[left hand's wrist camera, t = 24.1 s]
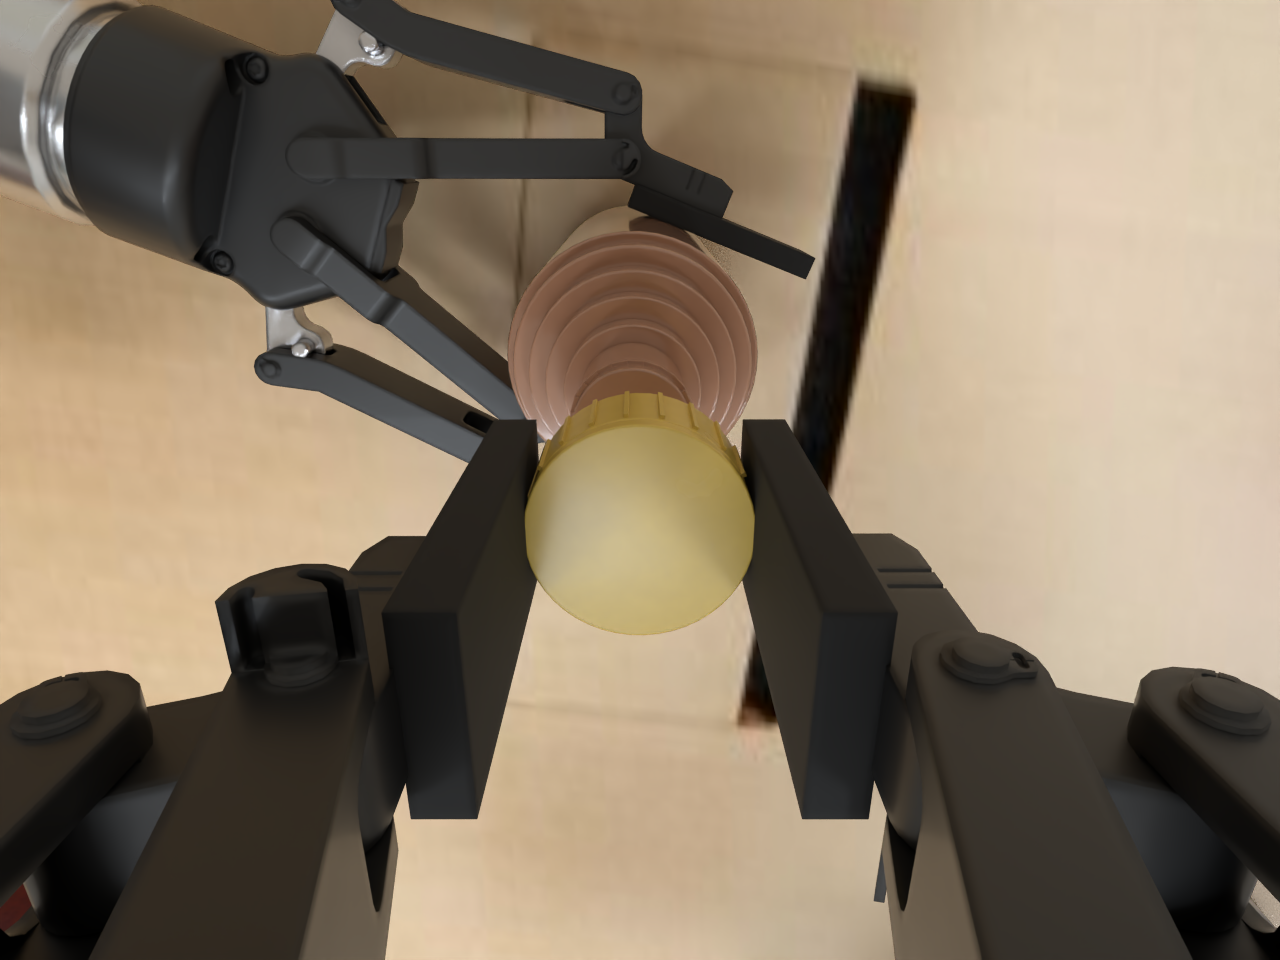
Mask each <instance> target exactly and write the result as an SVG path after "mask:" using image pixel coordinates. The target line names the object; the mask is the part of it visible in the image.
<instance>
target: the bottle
mask: <svg viewBox="0 0 1280 960" xmlns="http://www.w3.org/2000/svg"><path fill="white" fill-rule="evenodd" d="M757 354H758V351H757V339H756V333H755V328H754V324H753V319H752V317H751V314H750V311H749V309H748V306H747V304H746V302H745V300H744V298H743V296H742V294H741V292H740V290H739V289H738V287H737V286H736V285H735V283H734V282H733V281H732V279H731V278H730V276H729V275H728V274H727V273H726V271H725V270H724V269H723V268H722V267H721V265H720V264H719V263H718V262H717V260H716V259H715V258H714V257H713V256H712V254H711V253H710V252H709V251H708V249H707V248H706V247H705V246H704V244H703V243H702V242H701V241H700V240H699V238H698V237H697V236H696V235H695V234H693V233H690V232H688V231H685V230H683V229H681V228H678V227H676V226H673V225H671V224H668V223H666V222H663V221H661V220H658V219H656V218H654V217H651V216H649V215H646V214H644V213H641V212H639V211H636V210H634V209H631V208H629V207H628V205H625V206H619V207H614V208H610V209H607V210H604V211H602V212H600V213H598V214H595V215H594V216H592V217H590V218H589V219H587V220H586V221H585V222H583V223H582V224H581V225H580V226H579V227H577V228H576V230H575V231H574V232H573V233H572V234H571V235H570V236H569V237H568V239H567V240H566V241H565V242H564V243H563V244H562V246H561V247H560V248H559V249H558V250H557V251H556V253H555V254H554V255H553V256H552V257H551V259H550V260H549V261H548V262H547V263H546V264H545V266H544V267H543V268H542V269H541V270H540V272H539V273H538V274H537V275H536V276H535V277H534V279H533V280H532V282H531V283H530V285H529V286H528V287H527V289H526V290H525V292H524V294H523V296H522V298H521V300H520V302H519V304H518V306H517V308H516V311H515V314H514V317H513V320H512V323H511V328H510V333H509V338H508V368H509V375H510V379H511V384H512V388H513V391H514V393H515V396H516V399H517V402H518V404H519V406H520V408H521V410H522V412H523V414H524V416H525V417H526V419H537V433H538V434H539V436H540V437H541V438H542V439H543V440H544V441H545V442H546V441H547V439H549V440H551V439H552V437H553V436H554V435H555V433H556V432H557V431H558V430H559V428H560V427H561V426H562V425H563V424H564V422H565V419H566V417H567V416H570V417H572V416H573V415H575V414H576V413H577V412H579V411H580V410H582V409H583V408H585V407H587V406H589V405H591V404H592V402H593V400H595V399H597V400H598V401H600V400H603V399H605V398H608V397H612V396H617V395H621V394H624V393H625V391H629V392H630V393H651V394H657V395H658V392H661V393H663V395H664V396H667V397H671V398H674V399H677V400H680V401H682V402H684V403H686V404H689V402H691V403H693V404H694V408H696V409H697V410H699V411H701V412H702V413H703V414H705V415H706V416H707V417H708V418H710V419H711V420H712V421H713V422H715V421H717V422H718V423H719V425H720V428H721V430H722V432H723V433H724V435H725V436H726V435H727V434H728V433H729V431H730V430H731V429H732V428H733V427H734V425H735V424H736V422H737V421H738V419H739V418H740V416H741V414H742V413H743V411H744V409H745V406H746V404H747V402H748V400H749V398H750V394H751V391H752V388H753V385H754V381H755V375H756V370H757Z"/></svg>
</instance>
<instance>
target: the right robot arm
mask: <svg viewBox="0 0 1280 960" xmlns="http://www.w3.org/2000/svg"><path fill="white" fill-rule="evenodd" d="M331 2H332V4H333V6H334V8H335V9H336V10H335V12H334V14H333V17H332V19H331V21H330V23H329V25H328V28H327V30H326V32H325V34H324V37H323V39H322V41H321V43H320V45H319V48H318V50H317V52H316V54H314V53H301V54H296V55H278V54H275V53H272V52H270V51H267V50H265V49H263V48H260V47H258V46H255V45H253V44H250V43H248V42H245V41H243V40H241V39H238V38H236V37H233V36H231V35H228V34H226V33H223V32H221V31H218V30H216V29H214V28H211V27H209V26H206V25H204V24H201V23H199V22H196V21H194V20H191V19H189V18H187V17H184V16H182V15H179V14H177V13H174V12H172V11H169V10H167V9H165V8H162V7H158V6H154V5H143V6H142V5H141V4H140V3H139V2H138V1H137V0H0V196H2V197H5V198H8V199H10V200H13V201H16V202H19V203H21V204H24V205H27V206H29V207H32V208H35V209H37V210H40V211H43V212H45V213H48V214H51V215H53V216H56V217H59V218H61V219H64V220H67V221H70V222H72V223H75V224H78V225H88V226H96V227H97V228H98V229H99V230H100V231H102V232H104V233H105V234H107V235H109V236H112V237H114V238H117V239H120V240H123V241H125V242H128V243H131V244H133V245H136V246H139V247H142V248H144V249H147V250H150V251H153V252H155V253H158V254H161V255H164V256H166V257H169V258H172V259H174V260H177V261H180V262H183V263H185V264H188V265H191V266H194V267H196V268H199V269H202V270H205V271H208V272H211V273H214V274H217V275H220V276H223V277H226V278H228V279H230V280H232V281H234V282H235V283H237V284H238V285H240V286H241V287H242V288H244V289H245V290H246V291H247V292H248V293H249V294H250V295H251V296H252V297H253V298H254V299H255V300H256V301H257V302H259V303H260V304H262V305H263V306H265V309H266V334H267V352H265V353H263V354H261V355H259V356H258V357H257V359H256V360H255V364H254V368H255V372H256V374H257V376H258V377H259V379H261V380H262V381H263V382H265V383H267V384H270V385H275V386H282V387H289V388H297V389H304V390H311V391H319V392H321V393H323V394H325V395H327V396H329V397H331V398H333V399H335V400H338V401H340V402H342V403H344V404H346V405H348V406H350V407H352V408H354V409H356V410H358V411H361V412H363V413H365V414H367V415H369V416H371V417H373V418H375V419H377V420H379V421H382V422H384V423H386V424H388V425H390V426H392V427H394V428H396V429H398V430H400V431H402V432H405V433H407V434H409V435H411V436H413V437H415V438H417V439H419V440H421V441H423V442H425V443H428V444H430V445H432V446H434V447H436V448H438V449H440V450H442V451H444V452H446V453H448V454H451V455H453V456H455V457H457V458H459V459H461V460H463V461H465V462H467V463H469V462H470V460H471V459H472V457H473V455H474V454H475V452H476V450H477V449H478V447H479V445H480V443H481V442H482V440H483V438H484V437H485V435H486V433H487V432H488V430H489V428H490V426H491V425H492V423H493V421H494V420H495V419H496V418H494V417H492V416H490V415H488V414H486V413H484V412H482V411H480V410H478V409H476V408H474V407H472V406H470V405H468V404H466V403H464V402H462V401H460V400H458V399H456V398H454V397H452V396H450V395H448V394H446V393H444V392H442V391H440V390H438V389H436V388H433V387H431V386H429V385H427V384H425V383H423V382H421V381H419V380H417V379H415V378H413V377H411V376H409V375H407V374H405V373H403V372H401V371H399V370H397V369H395V368H393V367H391V366H389V365H387V364H385V363H383V362H381V361H379V360H377V359H375V358H373V357H371V356H369V355H367V354H364V353H362V352H360V351H357V350H355V349H353V348H349V347H346V346H343V345H339V344H334V343H333V339H332V337H331V334H330V333H329V332H328V331H327V330H326V329H325V328H323V327H321V326H319V325H316V324H314V323H313V322H311V321H310V320H309V319H308V318H307V316H306V314H305V312H304V308H303V306H305V305H309V304H312V303H316V302H320V301H323V300H327V299H330V298H334V297H337V296H339V297H340V298H341V299H343V300H344V301H345V302H346V303H348V304H349V305H350V306H351V307H352V308H354V309H355V310H356V311H357V312H359V313H360V314H361V315H362V316H364V317H365V318H366V319H368V320H369V321H371V322H373V323H376V324H380V325H382V326H384V327H385V328H387V329H388V330H389V331H390V332H392V333H393V334H394V335H395V336H396V337H398V338H399V339H400V340H401V341H403V342H404V343H405V344H406V345H408V346H409V347H410V348H411V349H413V350H414V351H415V352H416V353H418V354H419V355H420V356H421V357H423V358H424V359H425V360H426V361H427V362H429V363H430V364H431V365H432V366H434V367H435V368H436V369H437V370H439V371H440V372H441V373H442V374H444V375H445V376H446V377H447V378H449V379H450V380H451V381H452V382H454V383H455V384H456V385H457V386H458V387H460V388H461V389H462V390H463V391H465V392H466V393H467V394H468V395H470V396H471V397H472V398H473V399H475V400H476V401H477V402H478V403H480V404H481V405H482V406H483V407H485V408H486V409H487V410H488V411H489V412H491V413H492V414H493V415H494V416H496V417H497V418H498V419H526V417H525V416H524V414H523V412H522V410H521V408H520V406H519V404H518V402H517V399H516V396H515V393H514V391H513V388H512V384H511V379H510V375H509V368H508V361H506V360H505V359H504V358H503V357H502V356H500V355H499V354H498V353H497V352H496V351H494V350H493V349H492V348H491V347H490V346H488V345H487V344H486V343H485V342H484V341H482V340H481V339H480V338H479V337H478V336H476V335H475V334H474V333H473V332H472V331H470V330H469V329H468V328H467V327H466V326H464V325H463V324H462V323H461V322H460V321H458V320H457V319H456V318H455V317H454V316H452V315H451V314H450V313H449V312H448V311H446V310H445V309H444V308H443V307H442V306H440V305H439V304H438V303H437V302H436V301H434V300H433V299H432V298H431V297H430V296H428V295H427V294H426V293H425V292H424V291H423V290H422V289H421V288H420V287H419V285H418V283H417V282H416V280H415V279H414V278H413V277H411V276H410V275H409V274H408V273H407V272H405V271H404V270H403V269H402V268H401V267H400V266H398V263H399V259H400V255H401V251H402V247H403V221H404V219H405V218H406V216H407V214H408V213H409V211H410V209H411V207H412V206H413V204H414V201H415V197H416V193H417V189H418V185H419V182H418V181H415V179H622V180H624V181H627V182H629V183H632V184H634V185H635V186H634V189H633V192H632V194H631V197H630V200H629V203H628V207H629V208H631V209H634V210H636V211H639V212H641V213H644V214H646V215H649V216H651V217H654V218H656V219H658V220H661V221H663V222H666V223H668V224H671V225H673V226H676V227H678V228H681V229H683V230H685V231H688V232H690V233H693V234H695V235H698V236H700V237H703V238H705V239H708V240H710V241H713V242H715V243H717V244H720V245H722V246H725V247H727V248H730V249H732V250H735V251H737V252H740V253H742V254H744V255H747V256H749V257H752V258H754V259H757V260H759V261H762V262H764V263H767V264H769V265H772V266H774V267H776V268H779V269H781V270H784V271H786V272H789V273H791V274H794V275H796V276H799V277H801V278H803V279H806V278H807V276H808V273H809V271H810V269H811V267H812V265H813V262H814V260H815V258H814V257H812V256H810V255H809V254H807V253H805V252H803V251H801V250H799V249H797V248H794V247H792V246H789V245H787V244H785V243H782V242H780V241H777V240H775V239H772V238H770V237H768V236H765V235H763V234H760V233H758V232H755V231H753V230H751V229H748V228H746V227H743V226H741V225H738V224H736V223H734V222H731V221H729V220H726V219H724V218H722V217H723V215H724V212H725V210H726V207H727V205H728V203H729V200H730V198H731V195H732V193H733V190H732V189H731V188H730V187H729V186H728V185H727V184H726V183H725V182H724V181H723V180H722V179H720V178H717V177H715V176H713V175H710V174H708V173H705V172H703V171H701V170H698V169H696V168H693V167H691V166H689V165H686V164H684V163H682V162H679V161H677V160H674V159H672V158H670V157H667V156H665V155H663V154H660V153H658V152H656V151H654V150H652V149H651V148H650V147H649V146H648V145H647V143H646V141H645V140H644V137H643V134H642V88H641V85H640V82H639V81H638V80H637V79H636V77H635V76H633V75H631V74H629V73H627V72H623V71H620V70H616V69H613V68H609V67H605V66H602V65H598V64H595V63H591V62H587V61H584V60H580V59H577V58H573V57H570V56H566V55H562V54H559V53H555V52H552V51H548V50H544V49H541V48H537V47H534V46H530V45H526V44H523V43H519V42H516V41H512V40H508V39H505V38H501V37H498V36H494V35H490V34H487V33H483V32H480V31H476V30H472V29H469V28H465V27H462V26H458V25H454V24H451V23H447V22H444V21H440V20H436V19H433V18H429V17H426V16H422V15H418V14H415V13H411V12H410V11H408V10H407V9H405V8H404V7H403V6H401V5H400V4H399V3H397V2H396V1H394V0H331ZM403 54H404V55H406V56H408V57H411V58H413V59H415V60H417V61H419V62H422V63H424V64H427V65H430V66H433V67H436V68H439V69H442V70H446V71H450V72H453V73H457V74H461V75H464V76H468V77H472V78H475V79H479V80H483V81H487V82H490V83H494V84H498V85H501V86H505V87H509V88H512V89H516V90H520V91H523V92H527V93H531V94H534V95H538V96H542V97H545V98H549V99H553V100H556V101H560V102H564V103H567V104H571V105H575V106H578V107H582V108H586V109H589V110H593V111H597V112H601V113H604V114H605V139H491V138H397V137H396V136H395V134H394V133H393V132H392V130H391V129H390V127H389V126H388V125H387V123H386V122H385V120H384V119H383V117H382V116H381V115H380V113H379V112H378V110H377V109H376V108H375V106H374V105H373V103H372V102H371V100H370V99H369V98H368V96H367V95H366V93H365V92H364V90H363V89H362V88H361V86H360V85H359V83H358V82H357V81H356V79H355V78H354V74H355V72H356V71H357V70H358V69H359V68H360V67H362V66H365V65H373V66H376V67H379V68H382V69H390V68H393V67H395V66H396V65H397V64H398V63H399V61H400V60H401V57H402V55H403ZM537 437H538V443H546V442H545V441H544V440H543V439H542V438H541V437H540V436H539V434H538V433H537Z"/></svg>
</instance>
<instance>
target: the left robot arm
mask: <svg viewBox="0 0 1280 960" xmlns="http://www.w3.org/2000/svg"><path fill="white" fill-rule="evenodd" d="M741 461H742V464H743V467H744V470H745V473H746V475H747V476H746V477H744V479H745V482H746V485H747V488H748V491H749V494H750V497H751V499H752V502H753V506H754V511H755V522H754V539H753V554H752V559H751V562H750V564H749V567H748V570H747V572H746V574H745V575H744V577H743V579H742V581H743V585H744V589H745V593H746V597H747V601H748V605H749V609H750V613H751V617H752V621H753V625H754V629H755V633H756V637H757V641H758V645H759V649H760V653H761V657H762V661H763V665H764V669H765V673H766V677H767V681H768V685H769V689H770V693H771V697H772V701H773V705H774V709H775V713H776V717H777V721H778V725H779V729H780V732H781V736H782V740H783V744H784V748H785V752H786V756H787V760H788V764H789V768H790V772H791V776H792V780H793V784H794V788H795V792H796V796H797V800H798V804H799V808H800V812H801V816H802V819H869V812H870V805H871V799H872V792H873V785H874V781H875V783H876V786H877V789H878V791H879V794H880V796H881V799H882V802H883V804H884V807H885V809H886V812H887V817H886V823H885V830H884V836H883V843H882V849H881V856H880V862H879V869H878V875H877V882H876V888H875V896H874V901H877V902H883V903H884V901H885V895H886V890H887V896H888V904H889V912H890V920H891V928H892V937H893V945H894V953H895V960H1280V926H1279V927H1278V928H1275V927H1274V926H1273V924H1272V923H1271V922H1270V921H1269V920H1268V918H1267V917H1266V916H1265V915H1264V914H1263V912H1262V911H1261V910H1260V909H1259V908H1258V906H1257V905H1256V904H1255V903H1254V902H1253V901H1252V900H1251V899H1250V897H1251V895H1252V892H1253V890H1254V887H1255V885H1256V882H1257V880H1259V881H1260V882H1261V883H1262V884H1263V885H1264V886H1265V887H1266V888H1267V889H1268V891H1269V892H1270V893H1271V894H1272V895H1273V896H1274V897H1275V898H1276V899H1277V900H1278V901H1279V902H1280V700H1278V699H1277V698H1275V697H1274V696H1272V695H1270V694H1269V693H1267V692H1265V691H1264V690H1262V689H1259V688H1257V687H1255V686H1252V685H1250V684H1247V683H1245V682H1243V681H1241V680H1240V679H1238V678H1236V677H1234V676H1231V675H1227V674H1224V673H1220V672H1219V674H1218V673H1215V671H1212V670H1206V669H1194V668H1181V667H1169V668H1163V669H1158V670H1152V671H1151V672H1150V673H1148V674H1147V675H1146V676H1145V677H1144V678H1142V679H1141V681H1140V684H1139V688H1138V691H1137V694H1136V698H1135V701H1134V704H1133V703H1128V702H1123V701H1118V700H1113V699H1107V698H1102V697H1097V696H1092V695H1086V694H1081V693H1076V692H1072V691H1068V690H1064V689H1060V688H1056V686H1055V684H1054V682H1053V680H1052V678H1051V676H1050V674H1049V672H1048V671H1047V670H1046V668H1045V667H1044V666H1043V665H1042V664H1041V662H1040V661H1039V660H1038V659H1037V658H1036V657H1035V656H1034V655H1032V654H1030V653H1029V652H1027V651H1026V650H1024V649H1023V648H1021V647H1020V646H1018V645H1017V644H1014V643H1012V642H1009V641H1007V640H1004V639H1001V638H999V637H996V636H994V635H991V634H985V633H980V632H978V631H977V630H976V628H975V627H974V626H973V624H972V623H971V622H970V620H969V619H968V618H967V616H966V615H965V613H964V612H963V611H962V609H961V608H960V607H959V605H958V604H957V603H956V601H955V600H954V599H953V597H952V596H951V594H950V593H949V592H948V590H947V589H946V588H943V584H942V582H941V581H940V580H939V578H938V577H937V575H936V574H935V573H934V572H932V571H931V567H930V566H929V565H928V563H927V562H926V560H925V559H924V558H923V556H922V555H921V554H920V552H919V551H918V550H917V549H916V548H914V547H912V546H911V545H909V544H907V543H906V542H904V541H903V540H901V539H899V538H898V537H896V536H895V535H893V534H852V533H851V531H850V530H849V528H848V526H847V525H846V523H845V521H844V519H843V518H842V516H841V514H840V513H839V511H838V509H837V507H836V506H835V504H834V502H833V501H832V499H831V497H830V496H829V494H828V492H827V490H826V489H825V487H824V485H823V484H822V482H821V480H820V478H819V477H818V475H817V473H816V472H815V470H814V468H813V467H812V465H811V463H810V461H809V460H808V458H807V456H806V455H805V453H804V451H803V450H802V448H801V446H800V444H799V443H798V441H797V439H796V438H795V436H794V434H793V432H792V431H791V429H790V427H789V426H788V424H787V422H786V421H785V420H743V427H742V446H741ZM538 463H539V457H538V437H537V419H495V420H494V421H493V423H492V425H491V426H490V428H489V430H488V432H487V433H486V435H485V437H484V438H483V440H482V442H481V443H480V445H479V447H478V449H477V450H476V452H475V454H474V455H473V457H472V459H471V460H470V462H469V464H468V466H467V467H466V469H465V471H464V472H463V474H462V476H461V478H460V479H459V481H458V483H457V484H456V486H455V488H454V489H453V491H452V493H451V495H450V496H449V498H448V500H447V501H446V503H445V505H444V506H443V508H442V510H441V512H440V513H439V515H438V517H437V518H436V520H435V522H434V524H433V525H432V527H431V529H430V530H429V532H428V534H427V535H426V536H388V537H386V538H385V539H383V540H381V541H380V542H378V543H377V544H375V545H373V546H372V547H370V548H369V549H367V550H365V551H364V552H362V553H361V555H360V556H359V558H358V559H357V560H356V562H355V563H354V564H353V566H352V567H351V568H350V570H349V571H348V570H346V569H345V568H341V567H337V566H333V565H328V564H298V565H292V566H286V567H280V568H274V569H271V570H268V571H265V572H262V573H259V574H256V575H253V576H250V577H248V578H246V579H244V580H243V581H241V582H239V583H237V584H235V585H233V586H232V587H230V588H228V589H227V590H226V591H225V592H224V593H223V594H222V595H221V596H220V597H219V598H218V599H217V600H216V601H215V604H216V608H217V613H218V617H219V621H220V625H221V630H222V634H223V638H224V642H225V647H226V651H227V655H228V659H229V664H230V668H231V672H232V673H231V675H230V677H229V679H228V681H227V683H226V685H225V687H224V689H223V691H221V692H218V693H214V694H210V695H206V696H201V697H196V698H191V699H186V700H180V701H175V702H170V703H165V704H160V705H155V706H149V707H146V704H145V700H144V697H143V693H142V690H141V686H140V684H139V683H138V682H137V681H136V680H135V679H133V678H132V677H131V676H130V675H129V674H124V673H119V672H113V671H95V672H79V673H73V674H68V675H65V677H62V676H60V677H56V678H53V679H49V680H46V681H44V682H42V683H41V684H40V685H37V686H35V687H33V688H30V689H28V690H26V691H23V692H21V693H18V694H17V695H15V696H13V697H12V698H10V699H9V700H7V701H5V702H4V703H2V704H1V705H0V908H1V907H2V906H3V904H4V903H5V902H6V901H7V900H8V899H9V898H10V897H11V896H12V895H13V894H14V893H15V892H16V890H17V889H18V888H19V887H20V886H21V885H22V884H24V887H25V889H26V892H27V894H28V897H29V899H30V902H31V904H32V906H31V907H30V908H29V909H28V910H27V911H26V913H25V914H24V915H23V916H22V917H21V918H20V919H19V920H18V921H17V922H16V923H14V924H13V925H12V926H11V927H9V928H8V929H7V930H6V931H5V932H4V931H3V930H2V929H1V928H0V960H385V955H386V946H387V938H388V930H389V922H390V914H391V906H392V898H393V890H394V882H395V874H396V865H397V857H398V844H397V837H396V830H395V823H394V817H393V815H394V812H395V809H396V807H397V804H398V802H399V799H400V796H401V794H402V791H403V788H404V786H405V783H406V788H407V795H408V802H409V809H410V816H411V819H477V818H478V814H479V810H480V806H481V802H482V798H483V794H484V790H485V786H486V782H487V778H488V774H489V770H490V766H491V762H492V758H493V754H494V750H495V746H496V742H497V738H498V734H499V730H500V726H501V722H502V718H503V714H504V710H505V706H506V702H507V698H508V694H509V690H510V686H511V683H512V679H513V675H514V671H515V667H516V663H517V659H518V655H519V651H520V647H521V643H522V639H523V635H524V631H525V627H526V623H527V619H528V615H529V611H530V607H531V603H532V599H533V595H534V591H535V587H536V583H537V579H536V577H535V575H534V573H533V571H532V569H531V567H530V564H529V561H528V558H527V549H526V533H525V509H526V505H527V501H528V497H527V495H528V493H529V490H530V487H531V484H532V481H533V478H534V475H535V472H536V470H537V466H538Z"/></svg>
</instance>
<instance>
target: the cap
mask: <svg viewBox="0 0 1280 960" xmlns="http://www.w3.org/2000/svg"><path fill="white" fill-rule="evenodd" d="M746 476H747V475H746V473H745V470H744V467H743V464H742V461H741V459H740V456H739V453H738V450H737V448H736V446H735V445H734V446H731V444H730V442H729V440H728V439H727V437H726V436H725V435H724V433H723V432H722V430H721V428H720V425H719V423H718V422H717V421H715V422H713V421H712V420H711V419H710V418H708V417H707V416H706V415H705V414H703V413H702V412H701V411H699V410H697V409H696V408H694V404H693V403H691V402H689V404H686V403H684V402H682V401H680V400H677V399H674V398H671V397H667V396H664V395H663V393H661V392H658V395H657V394H651V393H630V392H629V391H625V393H624V394H621V395H617V396H612V397H608V398H605V399H603V400H600V401H598V400H597V399H595V400H593V402H592V404H591V405H589V406H587V407H585V408H583V409H582V410H580V411H579V412H577V413H576V414H575V415H573V416H572V417H570V416H567V417H566V419H565V422H564V424H563V425H562V426H561V427H560V428H559V430H558V431H557V432H556V433H555V435H554V436H553V437H552V439H551V440H549V439H547V441H546V443H545V446H544V449H543V452H542V454H541V457H540V460H539V463H538V466H537V470H536V472H535V475H534V478H533V481H532V484H531V487H530V490H529V493H528V495H527V497H528V501H527V505H526V509H525V533H526V549H527V558H528V561H529V564H530V567H531V569H532V571H533V573H534V575H535V577H536V579H537V580H538V582H539V583H540V585H541V586H542V588H543V589H544V590H545V592H546V593H547V594H548V595H549V596H550V597H551V598H552V599H553V601H554V602H556V603H557V604H558V605H559V606H560V607H561V608H562V609H564V610H565V611H566V612H568V613H569V614H571V615H572V616H574V617H575V618H577V619H579V620H581V621H583V622H585V623H587V624H589V625H591V626H594V627H597V628H599V629H602V630H606V631H610V632H614V633H620V634H628V635H650V634H660V633H665V632H669V631H674V630H677V629H680V628H683V627H686V626H688V625H690V624H692V623H695V622H697V621H699V620H700V619H702V618H704V617H705V616H707V615H709V614H710V613H712V612H713V611H714V610H715V609H717V608H718V607H719V606H720V605H722V604H723V603H724V602H725V601H726V600H727V599H728V598H729V597H730V596H731V595H732V593H733V592H734V591H735V589H736V588H737V587H738V585H739V584H740V582H741V581H742V579H743V577H744V575H745V574H746V572H747V570H748V567H749V564H750V562H751V559H752V554H753V539H754V522H755V511H754V506H753V502H752V499H751V497H750V494H749V491H748V488H747V485H746V482H745V479H744V477H746Z"/></svg>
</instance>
